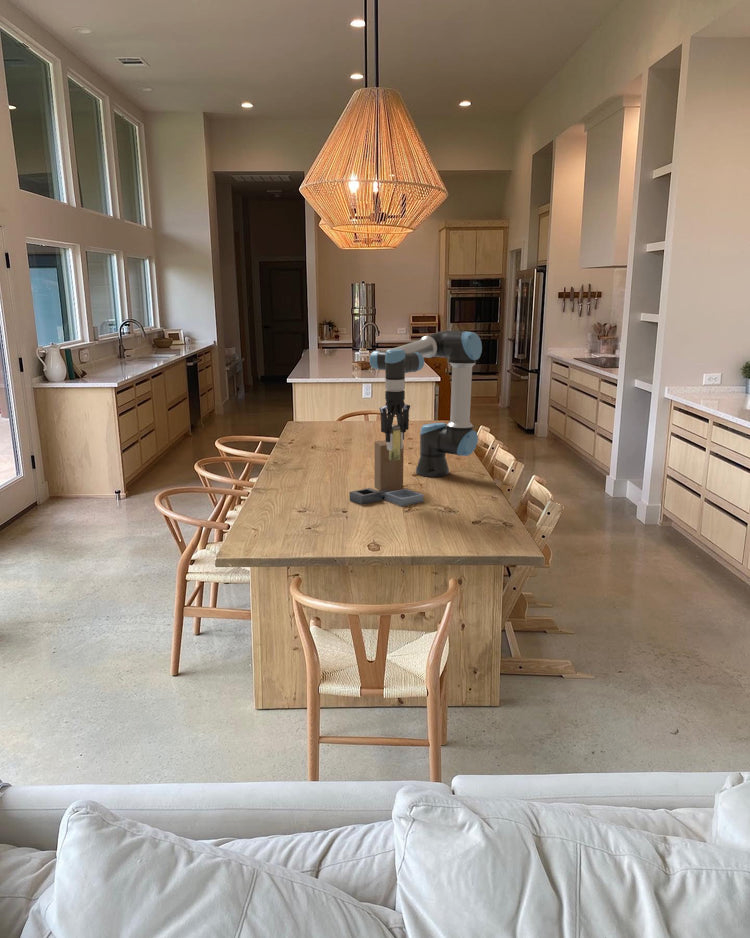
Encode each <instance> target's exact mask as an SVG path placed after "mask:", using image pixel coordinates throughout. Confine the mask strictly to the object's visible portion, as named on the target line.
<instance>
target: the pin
mask: <svg viewBox="0 0 750 938" xmlns="http://www.w3.org/2000/svg"><path fill="white" fill-rule="evenodd" d="M391 434H393V450H392V451H390V450H389V460H392V461H397V460H400V425H398V424H392V430H391Z"/></svg>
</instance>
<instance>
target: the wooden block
mask: <svg viewBox="0 0 750 938" xmlns="http://www.w3.org/2000/svg"><path fill="white" fill-rule="evenodd" d="M404 452H405V451H404V444H403V449H400V460H397V461H392V460H389V450H387V442H386V439H384V440H375V441H374V475H373V477H374V483H373V485H374V488H376V489H377V491H380V490H385V489H387V490H390V491H397V490H402V489H404Z"/></svg>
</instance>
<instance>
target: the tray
mask: <svg viewBox="0 0 750 938" xmlns="http://www.w3.org/2000/svg"><path fill="white" fill-rule="evenodd" d="M384 501H387V502H389V503H391V504H394V505H397V506H400V507H406V506H411V505H415V504H419V503H424V494H423V493H420V492H418V491H417V492H416V491H414V490H411V489H407V488H403V489H402V490H397V491H392V492H387V493H385V499H384Z"/></svg>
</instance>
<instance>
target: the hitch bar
mask: <svg viewBox="0 0 750 938" xmlns="http://www.w3.org/2000/svg"><path fill="white" fill-rule="evenodd" d="M387 492H392V491H390V490H387V489H385V490H380V491H379V490H378V489H377V490H376V489H373V488H371V487H368V488H363V489H358V490H352V491H349V501H350V502H352V503H354V504H355V503H356V504H358V505H360V506H363V505H368V504H373V503H378V502H381V501H383V500H384V501H385V493H387Z"/></svg>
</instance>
